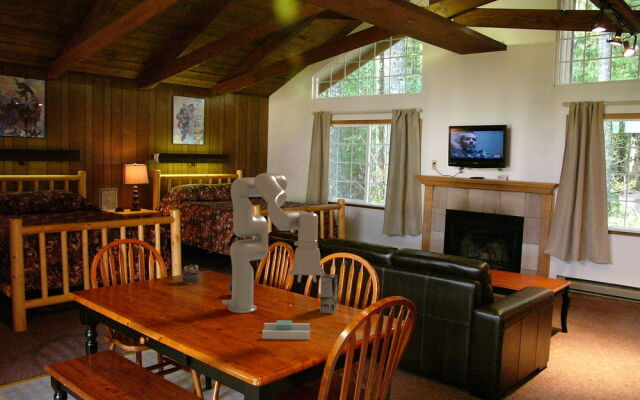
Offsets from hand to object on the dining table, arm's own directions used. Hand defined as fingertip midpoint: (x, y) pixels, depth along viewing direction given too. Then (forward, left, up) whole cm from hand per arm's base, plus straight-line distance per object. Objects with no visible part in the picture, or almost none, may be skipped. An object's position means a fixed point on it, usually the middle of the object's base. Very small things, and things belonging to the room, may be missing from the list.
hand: (306, 291), depth 209 cm
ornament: (-34, +60, -18) cm, 71 cm away
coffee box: (+10, +35, -18) cm, 41 cm away
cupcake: (-63, +87, -18) cm, 109 cm away
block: (-9, 0, -18) cm, 19 cm away
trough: (-8, 0, -17) cm, 19 cm away
